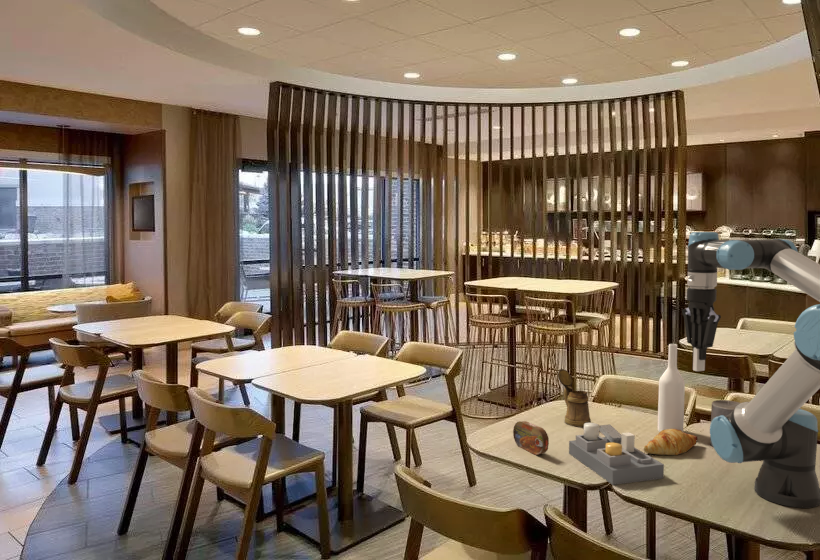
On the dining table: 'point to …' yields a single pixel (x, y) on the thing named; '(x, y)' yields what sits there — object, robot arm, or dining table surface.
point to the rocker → (610, 433)
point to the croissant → (670, 442)
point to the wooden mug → (574, 402)
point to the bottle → (671, 395)
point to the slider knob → (628, 441)
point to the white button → (591, 431)
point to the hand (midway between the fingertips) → (698, 370)
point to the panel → (615, 461)
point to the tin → (531, 437)
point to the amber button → (613, 449)
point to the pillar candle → (722, 409)
